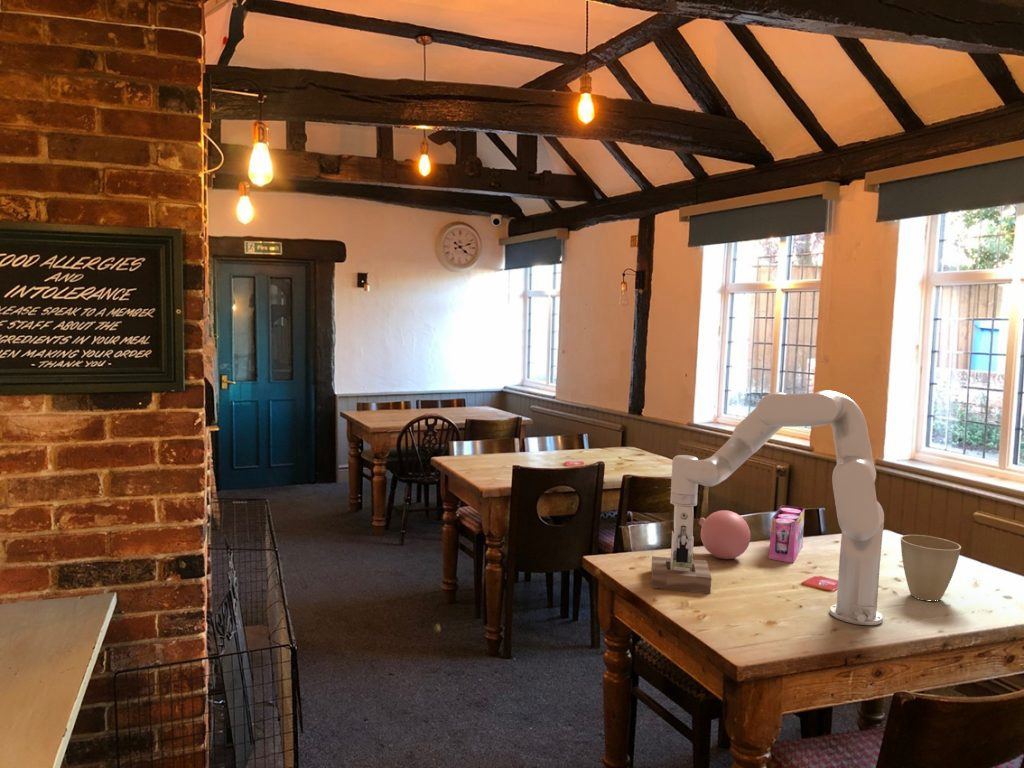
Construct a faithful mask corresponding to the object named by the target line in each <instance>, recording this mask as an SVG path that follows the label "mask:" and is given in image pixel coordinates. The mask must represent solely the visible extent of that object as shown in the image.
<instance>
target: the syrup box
mask: <svg viewBox="0 0 1024 768" xmlns="http://www.w3.org/2000/svg"><path fill="white" fill-rule="evenodd" d="M679 537H681V536H679ZM694 539H695V538H694V536H693V540H692V541H690V540H689V539H688V562H687V563H683V562H676V550H677V548H678V540H677V539H676V538H675V532H674V530H672V531H671V543H670V544H671V545H670V546H671V549H670V558H671V563H670V570H677V571H689V572H692V560H694V559H693V557H694V541H695V540H694Z"/></svg>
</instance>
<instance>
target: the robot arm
mask: <svg viewBox="0 0 1024 768" xmlns="http://www.w3.org/2000/svg"><path fill="white" fill-rule="evenodd" d="M828 425H830V428H831V429H832V437H833V444H834V445H833V446H834V450H835V457H836V465H835V466H834V468H833V471H832V475H831V476H832V478H831V481H832V482H831V483H832V490H833V496H834V497H833V498H834V503H835V504H834V505H835V509H836V517H837V522H838V526H839V528H840V530H841V537H840V548H839V549H840V550H839V561H838V574H837V575H838V577H837V579H838V580H837V589H836V590H837V591H836V592H837V593H836V595H837V596H836V603H835V604H832V605H831V606H830V607H829V613H830V615H831V616H833V617H834V618H835V619H838V620H839V621H840V620H841V621H842V622H846V623H850V624H854V625H860V626H877V625H879V624H880V625H881V624H882V623H883V621H884V616H883V614H882V613H881V612H879V611H878V610H877V609H878V599H879V598H878V596H879V595H878V594H879V585H880V584H879V582H880V569H881V568H880V567H881V557H882V546H883V545H882V544H883V532H884V524H885V512H884V509H883V507H882V505H881V504H880V502H879V501H878V498H877V493H876V492H877V491H876V485H875V483H876V479H877V470H876V467H875V462H874V457H873V451H872V445H871V440H870V435H869V429H868V424H867V420H866V417H865V415H864V412H863V411H862V409H861V407H860V406H859V405H858V404H857V402H856V401H854V399H851V398H850V397H849V396H847V395H845V394H843V393H841V392H838V391H835V390H829V389H827V390H825V389H824V390H819V391H817V392H810V393H809V392H808V393H807V392H806V393H785V392H781V391H775V392H772V393H771V392H770V393H769V394H765V395H764V396H763V397H762V398H761V399H760V400H759V401H758V402H757V405H756V407H755V408H754V409H753V410H752V411H751V412H750V413H749V414H748V415H747V416H746V417H744V418H743V419H742V420H741V421H740V422H739V423H738V424H737V425H736V426H735V428H734V429H733V431H732V434H731V436H730V437H729V438H728V440H727V441H726V442H725V443H724V444H723V445H722V446H721V447H719V448H718V449H717V451H716V452H715V453H714V454H712V455H711V456H709V457H708V458H707V457H706V458H705V459H699V458H698V457H697V456H695V455H694V456H693V455H688V454H678V455H675V456H674V457H673V458H672V464H671V484H670V500H669V501H670V504H671V505H673V506H674V507H673V509H674V510H673V529H674V530H673V531H674V532H675V538H676V539H677V540H678V548H677V550H676V562H683V563H687V562H688V539H689V540H690V541H692V540H693V537H694V536H693V535H694V507H696V506H697V505H698V493H699V485H701V486H705V487H714V486H717V485H719V484H721V482H724V481H726V480H727V479H728V478H729V477H730V476H731V475H732V474H733V473H734V472H735V471H737V470H738V469H739V468H741V466H742V465H743V464H744V463H745V462H746V461H747V460H748V459H749V458H750V457H751V456H753V455H754V454H755V453H757V452H758V451H759V450H760V449H761V448H762V447H763V446H764V445H765V444H766V443H767V442H768V441H769V440H770V439H771V438H772V437H774V436H775V435H776V433H777V432H779V431H780V430H781V429H782V428H783V427H787V428H788V427H823V426H828ZM679 536H681V537H679Z"/></svg>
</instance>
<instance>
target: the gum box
mask: <svg viewBox="0 0 1024 768" xmlns="http://www.w3.org/2000/svg"><path fill="white" fill-rule="evenodd" d="M805 509H806V508H804V507H798V506H790V505H785V504H784V505H783V504H782V505H781V506H780V507H779V508H778V510H777V511H776V513H775V514H774V515H772V518H771V526H770V527H771V528H770V537H769V538H770V539H769V551H768V560H773V561H779V562H785V563H789V564H790V563H791V564H794V562H795V560H797V557H798V555H799V553H800V552H801V550H802V548H803V543H804V525H805V511H806V510H805Z"/></svg>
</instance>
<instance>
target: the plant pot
mask: <svg viewBox="0 0 1024 768" xmlns="http://www.w3.org/2000/svg"><path fill="white" fill-rule="evenodd" d="M900 549H901V551H900V552H901V557H902V558H901V559H902V565H903V570H904V576H905V579H906V580H905V581H906V584H907V587H908V591H909V593H910V596H911V595H912V596H914V597H916V598H919V599H923V600H931V601H935V600H936V601H937V600H940V599H941V600H942V598H943V596H944V595H945V592H946V591H947V588H948V587H949V584H950V582H951V580H952V578H953V575H954V573H955V570H956V567H957V565H958V561H959V557H960V554H961V550H962V546H961V545H960V544H959V543H957V542H955V541H951V540H948V539H945V538H940V537H936V536H931V535H923V534H907V535H906V534H905V535H903V536H900ZM912 596H911V597H912ZM914 597H913V598H914ZM916 598H915V599H916ZM919 599H918V600H919ZM941 600H940V601H941Z"/></svg>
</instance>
